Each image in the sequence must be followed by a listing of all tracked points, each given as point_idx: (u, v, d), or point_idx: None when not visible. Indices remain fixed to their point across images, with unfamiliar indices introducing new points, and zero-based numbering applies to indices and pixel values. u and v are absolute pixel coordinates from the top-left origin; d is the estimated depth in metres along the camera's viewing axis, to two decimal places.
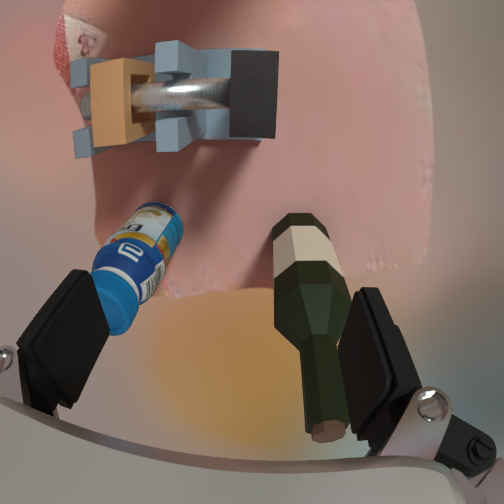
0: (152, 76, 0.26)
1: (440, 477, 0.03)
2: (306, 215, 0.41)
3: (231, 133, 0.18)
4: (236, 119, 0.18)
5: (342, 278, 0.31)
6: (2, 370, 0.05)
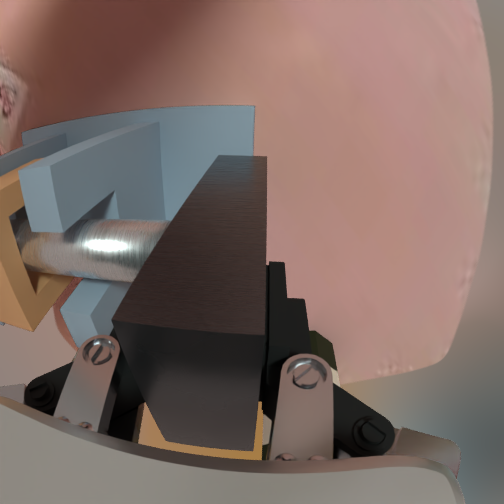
0: None
1: (440, 477, 0.03)
2: None
3: (168, 439, 0.08)
4: (171, 429, 0.08)
5: None
6: (94, 361, 0.06)
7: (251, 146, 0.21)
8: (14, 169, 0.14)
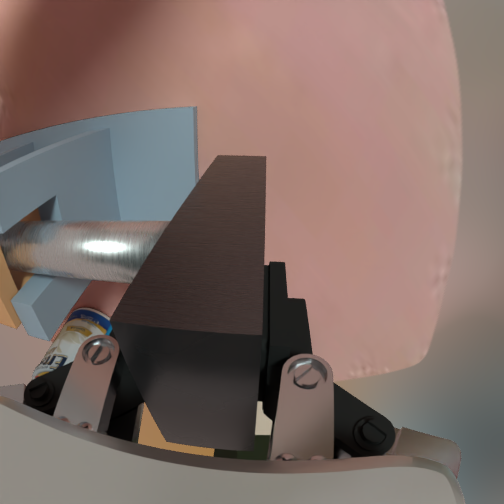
0: None
1: (440, 477, 0.03)
2: None
3: (168, 439, 0.08)
4: (171, 429, 0.08)
5: None
6: (94, 361, 0.06)
7: (192, 146, 0.21)
8: None
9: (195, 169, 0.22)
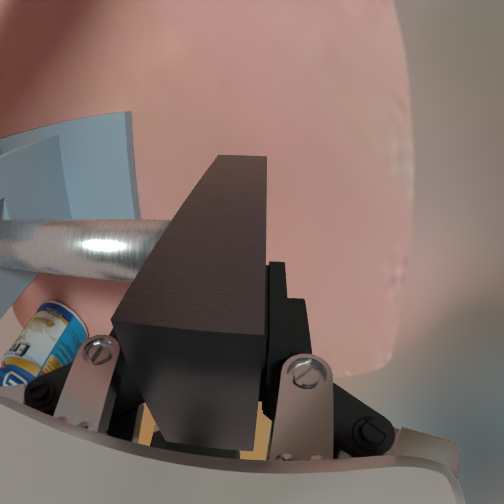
0: None
1: (440, 477, 0.03)
2: None
3: (168, 439, 0.08)
4: (170, 429, 0.08)
5: None
6: (94, 361, 0.06)
7: (125, 149, 0.21)
8: None
9: (130, 170, 0.22)
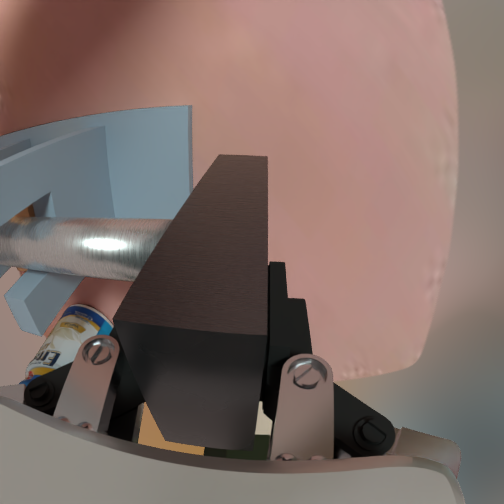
0: None
1: (440, 477, 0.03)
2: None
3: (168, 438, 0.08)
4: (171, 428, 0.08)
5: None
6: (94, 361, 0.06)
7: (186, 145, 0.21)
8: None
9: (189, 168, 0.22)
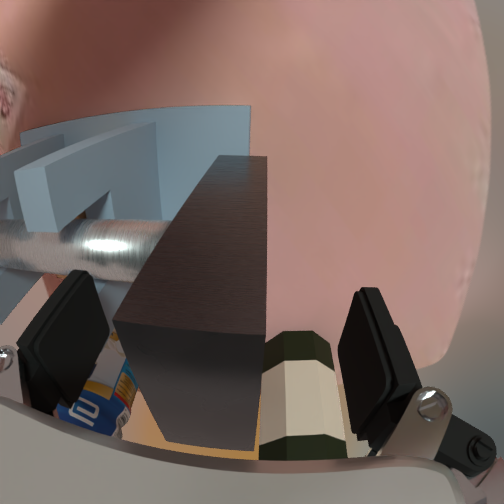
0: None
1: (440, 477, 0.03)
2: (306, 336, 0.30)
3: (168, 439, 0.08)
4: (171, 429, 0.08)
5: (343, 445, 0.21)
6: (2, 370, 0.05)
7: (247, 146, 0.21)
8: None
9: None
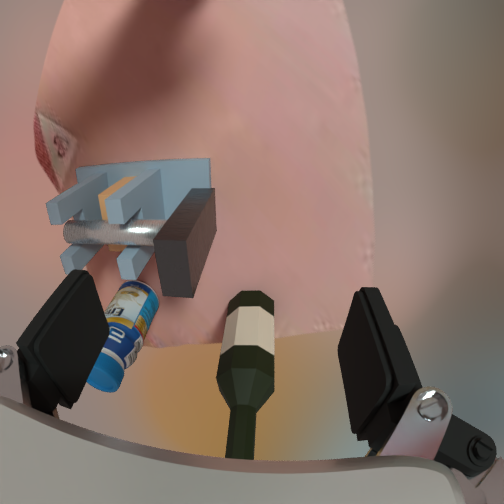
0: None
1: (440, 477, 0.03)
2: (255, 293, 0.49)
3: (163, 294, 0.27)
4: (165, 285, 0.27)
5: (271, 357, 0.39)
6: (2, 370, 0.05)
7: (208, 180, 0.40)
8: None
9: None
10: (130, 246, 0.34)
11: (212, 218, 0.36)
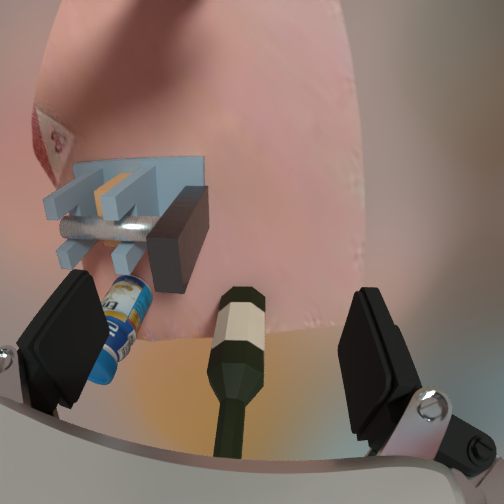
0: None
1: (440, 477, 0.03)
2: (247, 289, 0.50)
3: (156, 289, 0.28)
4: (157, 281, 0.27)
5: (261, 352, 0.40)
6: (2, 370, 0.05)
7: (202, 178, 0.40)
8: None
9: None
10: (124, 242, 0.35)
11: (205, 215, 0.37)
